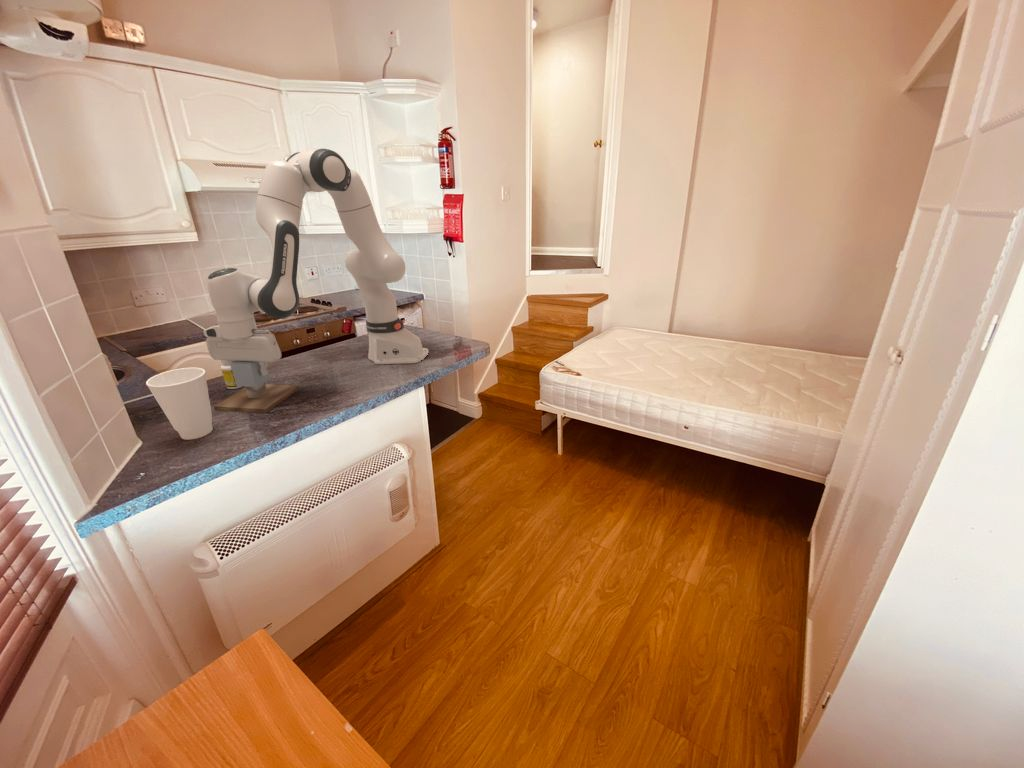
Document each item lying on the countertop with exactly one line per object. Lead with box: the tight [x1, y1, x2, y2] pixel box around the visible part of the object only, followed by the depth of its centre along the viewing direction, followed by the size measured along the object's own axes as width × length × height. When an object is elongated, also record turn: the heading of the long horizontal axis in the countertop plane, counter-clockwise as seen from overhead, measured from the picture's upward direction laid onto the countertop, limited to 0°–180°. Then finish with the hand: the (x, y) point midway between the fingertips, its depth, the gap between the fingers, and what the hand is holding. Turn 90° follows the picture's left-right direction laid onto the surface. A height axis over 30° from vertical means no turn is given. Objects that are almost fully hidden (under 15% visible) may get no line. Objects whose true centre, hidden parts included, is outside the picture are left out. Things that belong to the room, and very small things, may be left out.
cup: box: [145, 366, 214, 441], centre depth 107 cm, size 12×12×16 cm
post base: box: [213, 381, 300, 414], centre depth 126 cm, size 16×16×7 cm
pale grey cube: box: [230, 361, 271, 388], centre depth 124 cm, size 6×6×7 cm
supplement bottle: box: [220, 360, 244, 390], centre depth 135 cm, size 5×5×10 cm
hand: (251, 374), depth 124 cm, fingers closed on pale grey cube, 6 cm apart
